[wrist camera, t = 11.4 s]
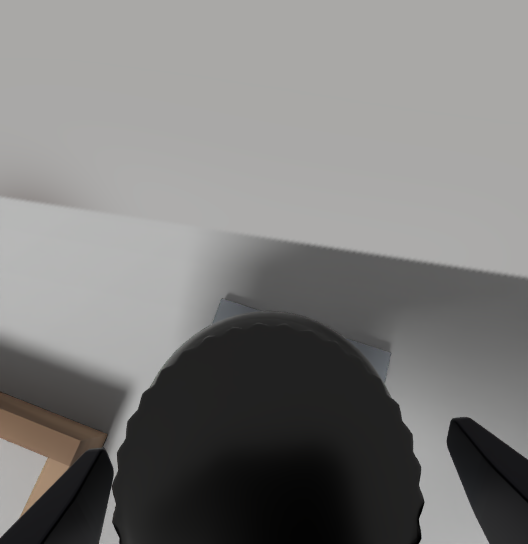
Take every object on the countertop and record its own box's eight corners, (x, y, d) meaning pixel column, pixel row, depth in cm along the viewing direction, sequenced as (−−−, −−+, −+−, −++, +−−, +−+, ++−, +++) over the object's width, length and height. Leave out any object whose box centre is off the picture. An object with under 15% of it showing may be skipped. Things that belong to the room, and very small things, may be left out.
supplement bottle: (209, 519, 15) (23, 873, 4) (188, 361, 18) (31, 304, 6) (361, 484, 16) (590, 724, 4) (322, 333, 18) (403, 228, 7)
